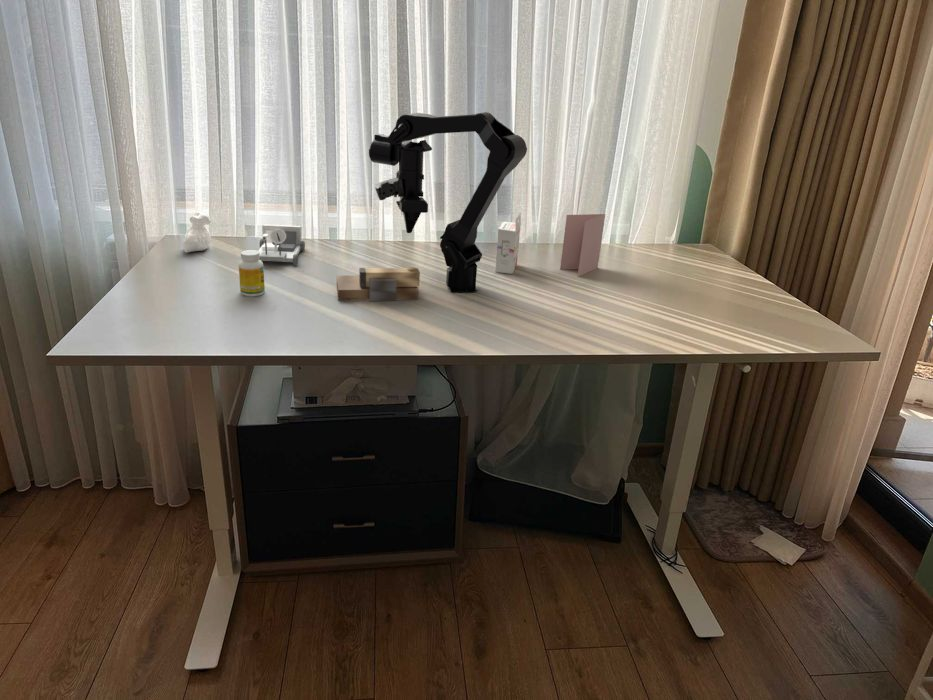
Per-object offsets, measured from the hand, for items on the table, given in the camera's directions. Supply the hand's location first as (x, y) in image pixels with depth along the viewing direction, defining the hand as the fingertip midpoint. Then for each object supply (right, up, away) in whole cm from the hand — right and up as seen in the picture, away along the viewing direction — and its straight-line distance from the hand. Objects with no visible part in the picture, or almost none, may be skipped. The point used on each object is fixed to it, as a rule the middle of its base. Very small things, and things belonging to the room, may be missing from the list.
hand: (408, 232), depth 176 cm
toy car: (-35, -5, +11) cm, 37 cm away
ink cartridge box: (+25, -7, +15) cm, 30 cm away
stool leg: (-4, -14, -11) cm, 18 cm away
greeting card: (+46, -8, +16) cm, 49 cm away
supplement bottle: (-34, -16, -14) cm, 40 cm away
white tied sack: (-57, -2, +13) cm, 58 cm away
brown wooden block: (-7, -15, -8) cm, 19 cm away
